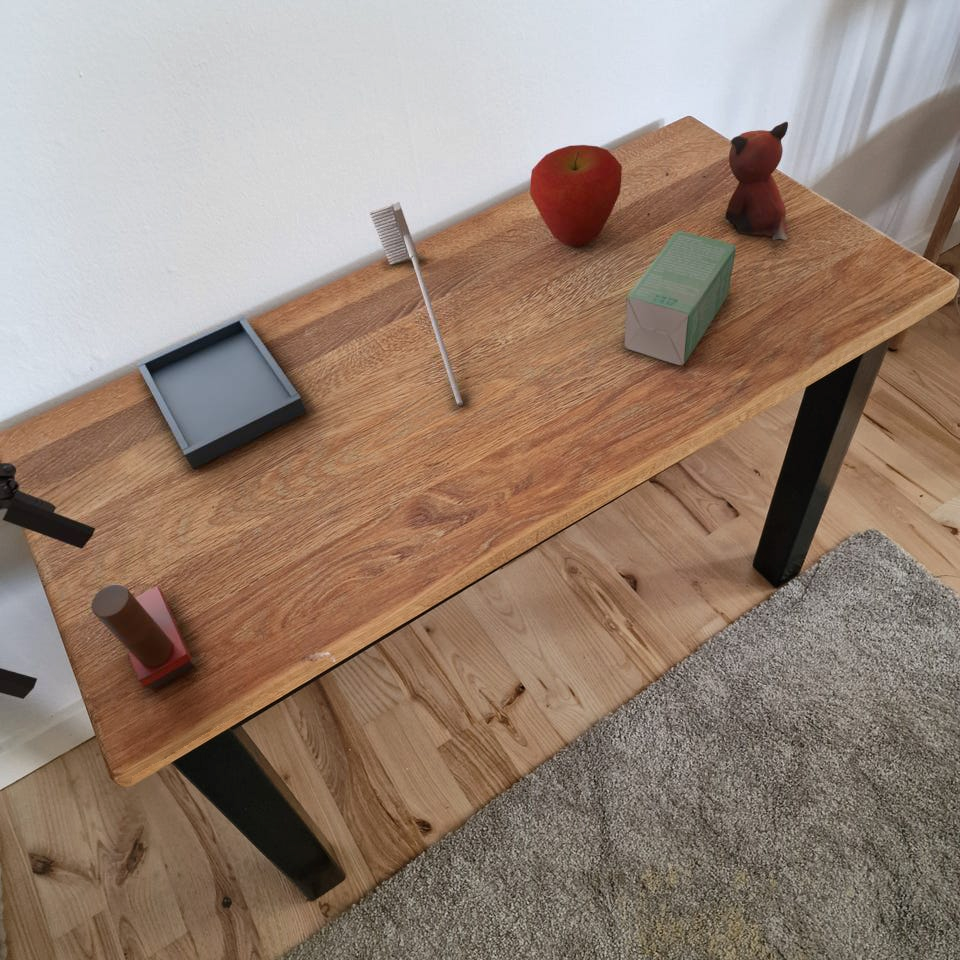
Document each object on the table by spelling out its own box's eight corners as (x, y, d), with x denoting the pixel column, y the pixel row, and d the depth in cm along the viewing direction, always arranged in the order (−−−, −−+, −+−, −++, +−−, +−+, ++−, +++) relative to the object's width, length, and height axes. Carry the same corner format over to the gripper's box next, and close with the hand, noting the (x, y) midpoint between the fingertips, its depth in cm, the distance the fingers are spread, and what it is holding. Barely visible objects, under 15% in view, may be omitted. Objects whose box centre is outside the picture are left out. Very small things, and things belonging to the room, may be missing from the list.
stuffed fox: (762, 261, 100) (780, 171, 90) (704, 217, 106) (715, 128, 97) (812, 238, 101) (834, 148, 92) (752, 196, 108) (767, 108, 99)
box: (730, 294, 97) (739, 240, 91) (684, 368, 90) (690, 315, 84) (671, 278, 100) (676, 225, 94) (622, 349, 93) (624, 296, 87)
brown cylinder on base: (198, 667, 73) (143, 601, 64) (151, 694, 72) (88, 630, 63) (169, 600, 78) (113, 529, 69) (124, 624, 77) (62, 555, 68)
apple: (602, 205, 110) (603, 119, 101) (632, 251, 104) (637, 162, 94) (523, 226, 109) (516, 140, 100) (548, 273, 103) (544, 186, 93)
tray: (306, 412, 92) (301, 397, 90) (192, 468, 88) (184, 455, 87) (248, 328, 102) (242, 314, 100) (144, 376, 98) (136, 362, 97)
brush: (440, 435, 94) (421, 391, 86) (389, 264, 107) (369, 211, 99) (472, 425, 94) (455, 379, 86) (417, 255, 107) (398, 201, 99)
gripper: (-171, 400, 66) (94, 504, 76) (-381, 695, 51) (-13, 776, 61) (-157, 347, 61) (124, 466, 72) (-383, 655, 46) (16, 750, 56)
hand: (62, 609), depth 66 cm, fingers open, 13 cm apart
